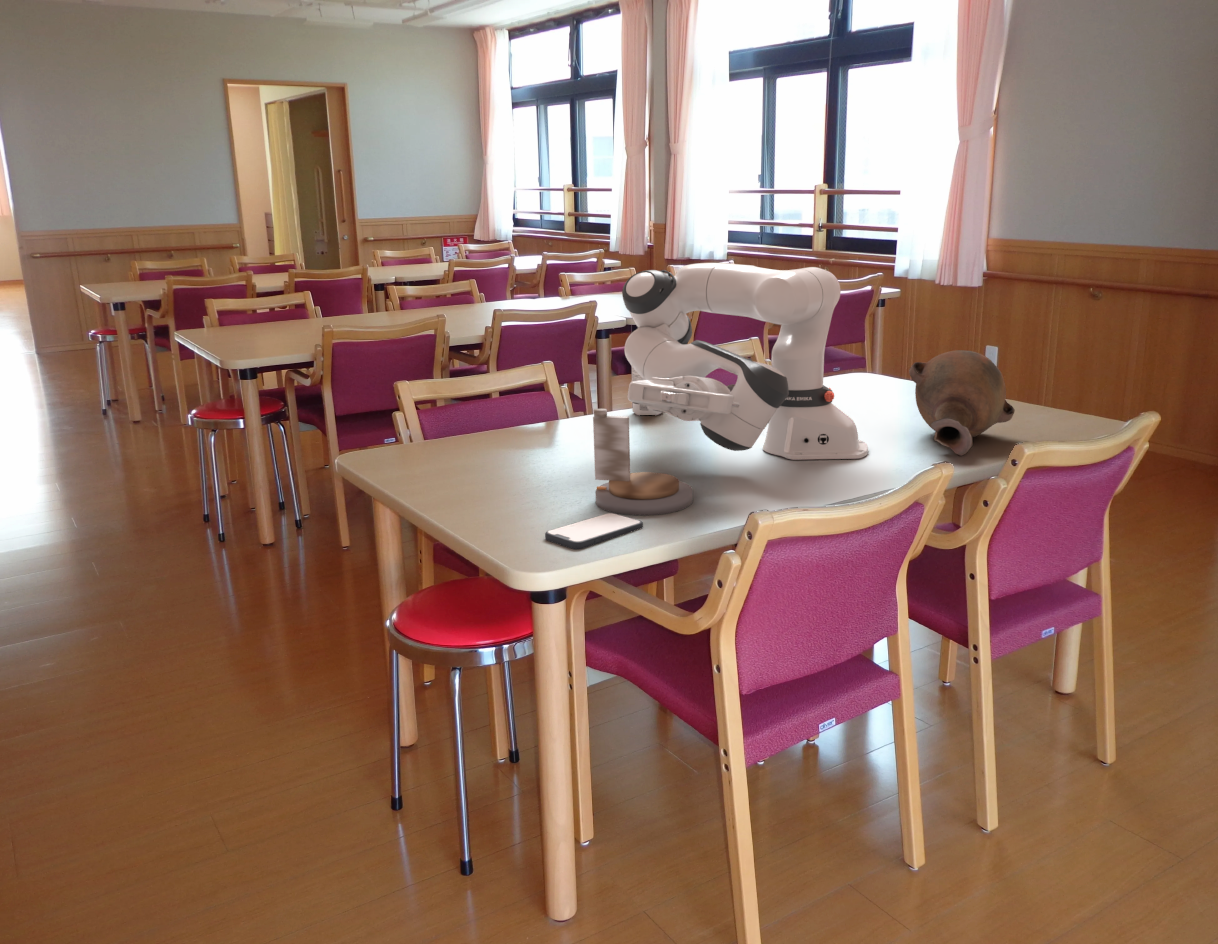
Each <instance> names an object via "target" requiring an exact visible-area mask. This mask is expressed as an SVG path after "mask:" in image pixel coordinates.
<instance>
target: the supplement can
mask: <svg viewBox="0 0 1218 944" xmlns="http://www.w3.org/2000/svg"><path fill="white" fill-rule="evenodd" d="M640 380H644V379H643V378H642V377H641V376H640V375H639V374H638V373H637V372H636V370H635V369H634V368H633V367H632V366H631V382H632V381H640ZM631 403H632V409H631V410H632V412H633V413H634V414H635V415H636V416H640V415H655V416H659V415H661V414H662V413H663V412H660V411H655V410H652V409H648V408H647V406H645V405H641V404H638V403H634V402H631Z"/></svg>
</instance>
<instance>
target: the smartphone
mask: <svg viewBox="0 0 1218 944" xmlns="http://www.w3.org/2000/svg"><path fill="white" fill-rule="evenodd" d="M642 527H643V528H644V522H643V521H642V520H639V519H637V518H631V517H628V516H625V515H623V514H618V513H613V512H609V513H604V514H600V515H597V516H594V517H591V518H587V519H583V520H581V521H577V522H574V523H570V524H567V525H563V526H561V527H556V528H553V529H549V530H547V531H546V532H544V539H545V540H546V541H548V542H551V543H553V544H556V545H560V546H561V547H562V546H563V547H566V548H569V549H572V550H582V549H585V548H588V547H591V546H594V545H597V544H600V543H603V542H606V541H608V540H612V539H614V538H618V537H621V536H623V534H624V535H627V534H629V533H631V531H632V532H635V531H637V529H638V530H640V528H641V529H643V528H642ZM634 530H635V531H634ZM620 535H621V536H620Z"/></svg>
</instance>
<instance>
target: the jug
mask: <svg viewBox="0 0 1218 944" xmlns="http://www.w3.org/2000/svg"><path fill="white" fill-rule="evenodd" d="M908 375H909V376H910V378H911V380H912V381H913V383H915V390H914V391H915V394H914V395H915V403H916V407H917V409H918V412H919V414H920V416H921V417H922V420H924V422H925V423H926V424H927V425H928V426H929V428H930V429H932V430H933V431H934V437H933V440H934V441H935V442H937V443H939V444H940V445H942V446H944V447H946V448H949V449H951V451H953V453H954V454H956V455H959V456H963V455H965V454H967V452H969V450H970V449H971V448H972V447H973V445H974V442H973V438H974V437H977V436H979V435H981V434H983V433H984V432H986V431H987V430H988V429H990V428H991V427H992V426H994V425H995V424H1001V423H1006V422H1009V421H1011V420H1012V418H1013V416H1014V414H1015V411H1016V410H1015V407H1013V406H1012V405H1011V404H1010V403H1008V401H1007V400H1006V398H1007V397H1006V396H1007V389H1006V383H1005V378H1004V376H1003V373H1002V372H1001V370H1000V369H999V368H998V366H996V363H994V362H993V361H992V360H991V359H990V358H989V357H987V356H985V355H984V354H983V353H979V352H976V351H973V350H963V349H960V350H959V349H958V350H951V351H947V352H943V353H940V354H938V355H936V356H933V358H931V359H930V360H928V361H927V362H920V361H918V362H917V361H916V362H913V364H912V365H911V367H910V368H909V370H908Z"/></svg>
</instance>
